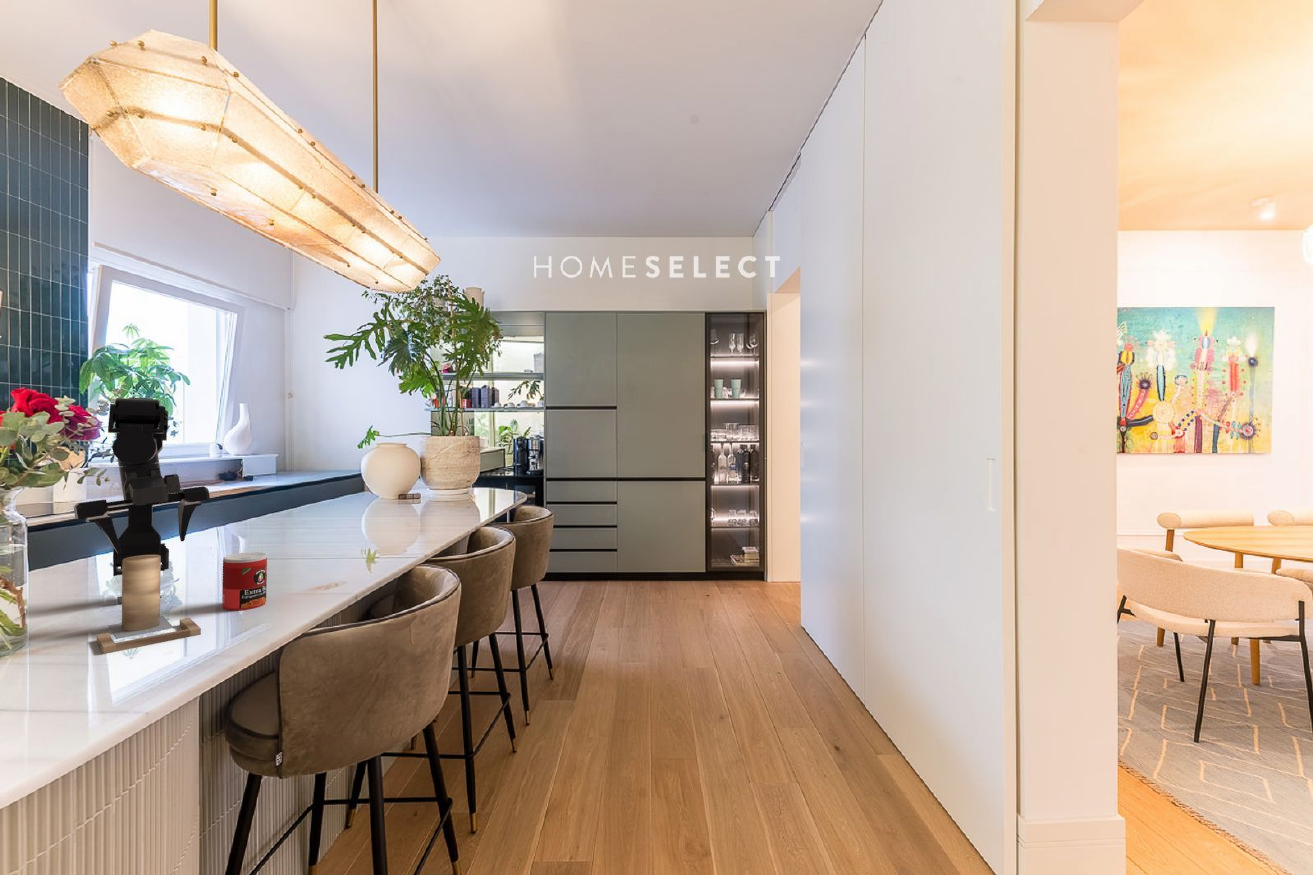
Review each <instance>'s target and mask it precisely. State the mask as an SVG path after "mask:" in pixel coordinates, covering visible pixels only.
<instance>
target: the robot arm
mask: <svg viewBox="0 0 1313 875" xmlns="http://www.w3.org/2000/svg"><path fill="white" fill-rule="evenodd" d="M168 430H169V411H168V409H167V410H166V406H165V405H161V404H160V400H159V399H154V398H152V397H151V398H150V397H148V398H147V397H129V398H126V397H116V398H115V400H114V403H110V405H109V415H108V423H107V433H109V434H115V437H116V438H115V440H114V441H113V443H112V447H111V448H112V452H113V454H114V456H115V457H116V459H117V463H118V469H119V470H118V472H119V476H120V483H121V489H122V496H123V499H121V500H116V501H115V500H114V501H108V502H107V499H97V500H89V501H83V502H77V503H76V504H75V505H74V506H73V512H74V518H75V519H76V520H82V519H85V522H86V523H95V525H96V526H97V527H98V528H99V529H100V530H101V531H102V532H103V534H104V536H106V538H107V540H108V541H109V543H110V544H111V546H112V547H113V548H112V549H113V550H112V551H113V552H112V567H113V568H112V571H113V573H112V576H113V577H117V576H122V565H123V559H125V558H128V557H133V556H141V555H160V556H161V572H164V571H166V570H169V569H170V567H169V565H170V564H169V563H170V549H169V548H167V545H166V543H165V542H163V543H162V535H160V532H158V530H157V529H156V528H155V527H154V525H153V509H154V508H153V507H154V506H157V505H164V504H169V503H170V504H171V503H177V502H180V504H178V505H177V518H178V520H177V521H178V535H179V539H180V542H185V539H186V534H187V531H188V528H189V523H190V520H191V518H192V515H193V513H194V511H195V510H196V508H197V507H200V506H203V502H202V501H209V500H211V496H210V490H209V489H208V487H206V486H205V485H204V486H202V485H201V486H195V487H186V488H181V484H180V481H181V480H180V477H179V475H178V473H174V474H173V473H172V474H165V475H164V477H163V476H162V472H161V465H160V461H159V454H160V453H161V451H162V450H163V448H164V447H163V444H164V443H163V442H164V441H168V439H167V437H168V436H167V435H168ZM123 510H128V513H127V514H128V517H127V526H126V528H125V530H124V531H123V532H122V533H121V535H120V536H119V537H118V535H117V531H116V529H115V526H114V523H113V517H112V516H109V512H115V511H123ZM119 567H120V568H119ZM116 599H117V601H118V602H119V604H120V605H122V595H121V596H118V597H117V598H116ZM160 599H162V595H160Z"/></svg>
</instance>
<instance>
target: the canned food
mask: <svg viewBox="0 0 1313 875" xmlns="http://www.w3.org/2000/svg"><path fill="white" fill-rule="evenodd" d="M267 555H268V554H267V553H266V552H262V551H261V552H258V551H253V552H250V551H249V552H248V551H247V552H239V553H238V552H237V553H232V554H227V555H226V556H224V557H223V558H222V596H221V600H222V602H221V603H222V604H221V605H222V606H221V607H222V608H223V609H224V610H225V611H233V612H235V611H236V612H237V611H249V610H252V609H257V608H260V607H263V606H264V605H266V603H267V584H268V583H267V582H268V580H267V578H268V556H267Z"/></svg>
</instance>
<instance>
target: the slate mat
mask: <svg viewBox="0 0 1313 875" xmlns="http://www.w3.org/2000/svg"><path fill="white" fill-rule="evenodd" d="M108 627H109V629H110V630H111V632H112V635H113V636H114V637H115V638H116V639H123V638H129V637H134V636H139V635H144V634H149V633H155V632H160V631H165V630H170V629H175V627H174V626H173V625H172V623H170V621H168V620H167V619H166V617H165V616H164V615H160V624H159V625H158V626H156V627H153V628H150V629H146V630H140V631H123V630H122V622H118V623H113V624H109V625H108Z"/></svg>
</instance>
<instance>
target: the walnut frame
mask: <svg viewBox="0 0 1313 875" xmlns="http://www.w3.org/2000/svg"><path fill="white" fill-rule="evenodd" d="M179 626H180V627H181V630H177V631H171V632H167V633H160V634H156V635H149V636H145V637H140V638H133V639H130V640H125V641H119V642H115V641H114V640H113V638H112V636H111V634H110V633H109V632H103V633H97V634H96V643H97V645H98V646H99V648H100V650H101V652H102V654H103V655H107V654H111V653H116V652H120V651H126V650H130V649H137V648H141V647H146V646H152V645H156V644H157V645H158V644H161V643H167V642H172V641H176V640H182V639H186V638H191V637H196V636H200V635H201V634H202V628H201V627H200V626H199V625H198V624H196V622H195V621H194V620H193V619H192V618H190V617H186V618H185V617H184V618H180V619H179Z"/></svg>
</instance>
